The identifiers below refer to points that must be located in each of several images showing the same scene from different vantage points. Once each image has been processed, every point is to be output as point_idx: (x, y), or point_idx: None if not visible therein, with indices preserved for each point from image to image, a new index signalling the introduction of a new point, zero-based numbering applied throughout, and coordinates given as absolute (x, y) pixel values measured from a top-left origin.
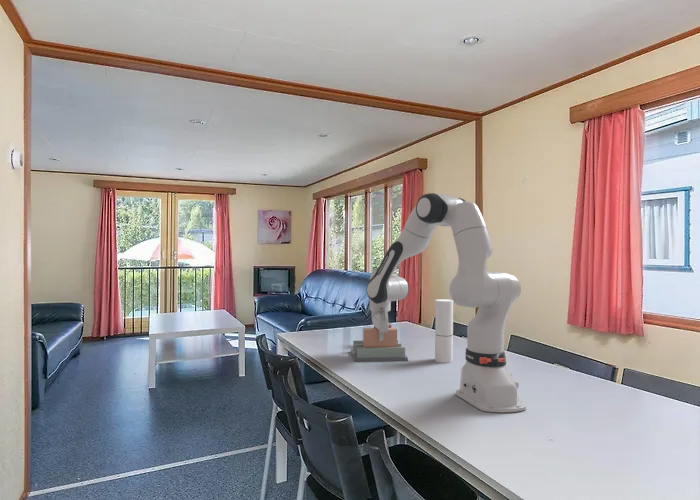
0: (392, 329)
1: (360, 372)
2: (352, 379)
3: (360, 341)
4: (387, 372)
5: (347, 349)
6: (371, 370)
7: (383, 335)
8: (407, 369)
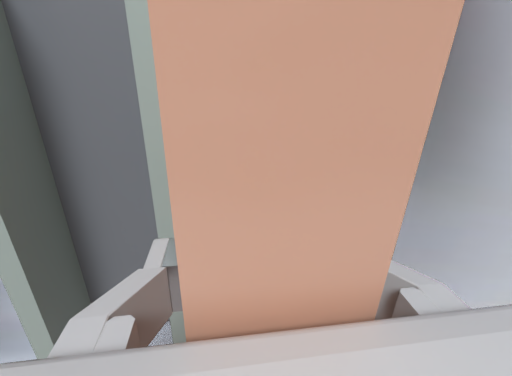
0: (417, 145)
1: (450, 276)
2: (509, 299)
3: (54, 334)
4: (499, 173)
5: (16, 332)
6: (443, 236)
7: (392, 262)
8: (506, 49)
